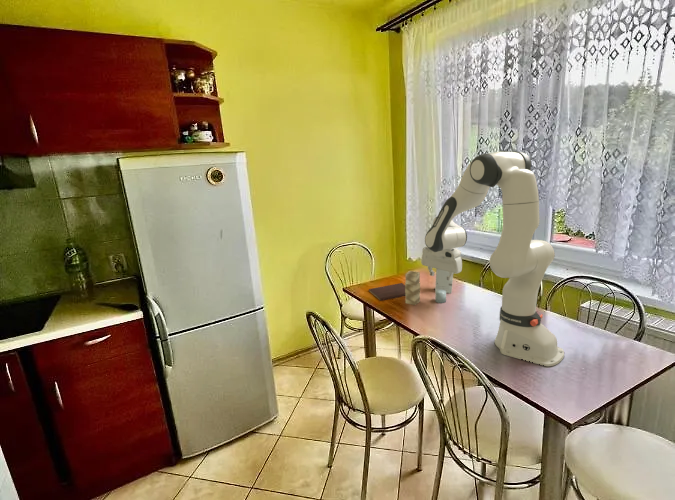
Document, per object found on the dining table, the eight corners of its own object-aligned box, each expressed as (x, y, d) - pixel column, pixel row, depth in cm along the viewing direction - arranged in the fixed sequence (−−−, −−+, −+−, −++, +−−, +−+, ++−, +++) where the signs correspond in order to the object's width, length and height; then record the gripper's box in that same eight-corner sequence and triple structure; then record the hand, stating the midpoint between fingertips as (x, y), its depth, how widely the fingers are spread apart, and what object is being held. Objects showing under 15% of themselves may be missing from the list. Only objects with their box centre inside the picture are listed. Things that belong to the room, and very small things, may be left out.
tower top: (419, 282, 177) (419, 272, 175) (415, 285, 173) (415, 275, 171) (409, 280, 179) (409, 270, 178) (405, 283, 175) (405, 274, 174)
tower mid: (420, 292, 177) (420, 283, 175) (412, 295, 174) (412, 285, 173) (412, 290, 181) (412, 280, 179) (405, 292, 178) (405, 283, 177)
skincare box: (435, 292, 189) (435, 264, 185) (436, 288, 194) (436, 261, 190) (452, 293, 186) (453, 265, 182) (453, 289, 191) (453, 262, 187)
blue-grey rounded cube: (448, 301, 178) (448, 291, 177) (442, 304, 175) (442, 294, 173) (439, 298, 182) (439, 288, 180) (433, 301, 178) (433, 291, 177)
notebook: (368, 291, 196) (368, 288, 196) (401, 285, 202) (401, 282, 202) (380, 301, 182) (380, 298, 182) (415, 294, 188) (415, 291, 188)
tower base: (419, 301, 179) (419, 292, 178) (414, 305, 175) (414, 295, 174) (410, 299, 182) (410, 290, 181) (405, 303, 178) (405, 293, 177)
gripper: (418, 247, 177) (418, 274, 181) (456, 255, 162) (455, 284, 166) (426, 244, 181) (426, 271, 185) (464, 252, 166) (463, 281, 170)
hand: (440, 277), depth 175 cm, fingers open, 8 cm apart
